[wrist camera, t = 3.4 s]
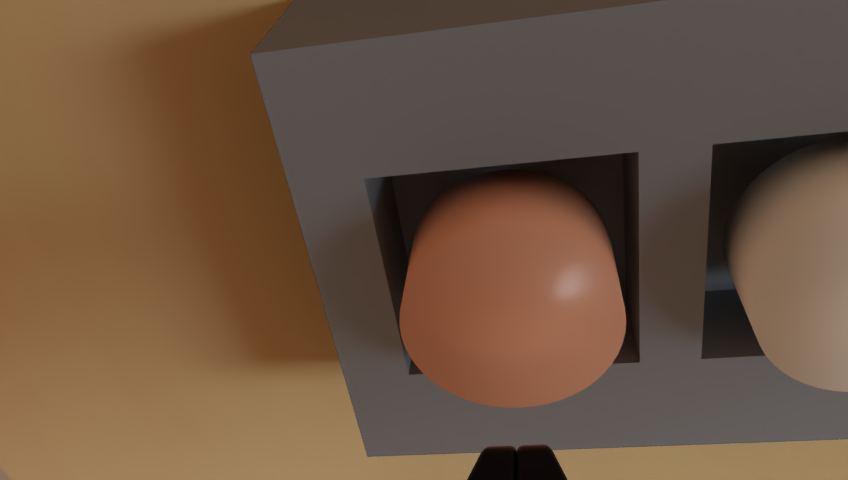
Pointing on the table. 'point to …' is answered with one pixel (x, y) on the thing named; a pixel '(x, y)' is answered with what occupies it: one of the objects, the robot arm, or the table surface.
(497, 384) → the terracotta button
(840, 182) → the cream button
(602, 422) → the button panel
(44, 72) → the table surface
